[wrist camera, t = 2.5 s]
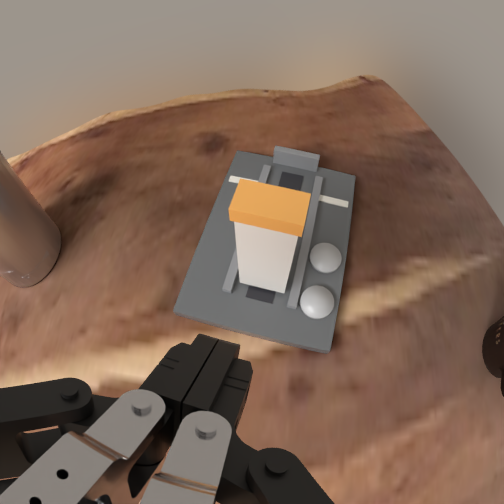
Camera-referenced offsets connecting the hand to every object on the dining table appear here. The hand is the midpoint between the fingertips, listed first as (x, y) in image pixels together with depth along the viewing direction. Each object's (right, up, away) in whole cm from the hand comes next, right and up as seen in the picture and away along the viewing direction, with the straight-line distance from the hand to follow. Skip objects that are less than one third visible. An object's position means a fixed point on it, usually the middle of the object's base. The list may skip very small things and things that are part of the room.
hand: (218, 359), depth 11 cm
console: (+4, +5, +21) cm, 22 cm away
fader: (+2, +2, +17) cm, 18 cm away
